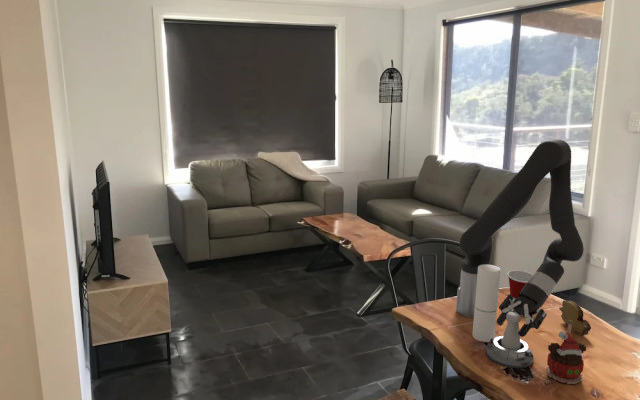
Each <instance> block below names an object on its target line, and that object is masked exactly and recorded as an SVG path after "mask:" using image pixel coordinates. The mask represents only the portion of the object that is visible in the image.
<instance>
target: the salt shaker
mask: <svg viewBox="0 0 640 400" xmlns="http://www.w3.org/2000/svg"><path fill="white" fill-rule="evenodd" d="M521 316H522V315H520V314H518V313H516V312H508V313H507V315H506V318H507V319H506V320H507V323H506V325H505V326H506V327H505V330H504V332H503V335H502V336H503V338H502V341H501V344H502V347H503V348H506V349H508V350H519V349H520V347H521V344H520V339H521V336H519V334H518V332H519V330H520V326H519V325H520V322H521V320H522V317H521Z"/></svg>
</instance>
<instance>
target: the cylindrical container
mask: <svg viewBox="0 0 640 400" xmlns="http://www.w3.org/2000/svg"><path fill="white" fill-rule="evenodd" d="M500 277H501V268H500V267H498V266H496V265H493V264H489V265H480V266H478V274H477V286H476V298H475V310H474V318H473V323H472V325H473V326H472V334H471V335H472V338H473V337H474V338H473V339H475V340H477V341H478V342H482V341H483V342H482V343H490V339H491V338H493V337H494V338H495V335H496V334H495V333H496V324H497V312H498V311H497V310H498V299H499V289H500V279H501V278H500Z"/></svg>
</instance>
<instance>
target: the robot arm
mask: <svg viewBox="0 0 640 400" xmlns="http://www.w3.org/2000/svg"><path fill="white" fill-rule="evenodd" d="M571 166H572V149H571V146H570V145H569V143H568V142H567V141H565V140H563V139H560V138H559V139H558V138H557V139H556V138H555V139H547V140H545V141H542V142H541V143H539V144H538V145H537V146H536V148H535V149H534V150H533V152H532V153H531V154H530V156H529V158H527V161H526V162H525V163H524V165H523V166H522V167H521V169H520V170H519V171H518V172H517V173H516V174H515V175H514V177H512V178H511V180H509V181H508V183H507V184H506V185H505V186H504V187H503V188H502V189H501V190H500V192H499V193H498V194H497V195H496V196H495V197H494V199H493V200H492V201H491V203H490V204H489V205H488V207H486V209H485V211H484V212H483V213H482V214H481V216H480V217H479V218H478V219H477V220H476V221H475V222H474V223H473V224H472V225H471V226H470V227H469V228H468V229H466V230H465V231H464V232H463V233H462V235H460V239H459V247H460V250H461V251H462V253H463V254H465V257H464V259H463V261H462V262H461V265H460V266H461V268H460V270H461V271H460V280H459V283H460V284H459V287H457V293H456V305H455V307H456V308H455V312H456V313H459V314H460V315H461V316H463V317H466V318H471V319H472V318H473V319H474V310H475V298H476V286H477V274H478V266H480V265H490V262H491V256H492V255H491V254H492V247H493V237H492V236H493V235H494V234H495V233H496V232H497V231H499V230H500V229H501V228H503V226H505V225H507V223H509V222H510V221H511V220H513V218H515V217H516V216H517V215H518V214H519V213H520V212H521V211H522V210H523V209H524V208H525V207H526V206H527V204H528V203H529V202H530V200H531V199H532V196H533V194H534V192H535V190H536V188H537V186H538V185H539V183H541V182H542V180H543V179H544V178H545V177H547V175H549V178H550V193H549V202H548V211H549V219H550V226H551V229H552V231H553V232H555V233H557V234H559V236H560V238H557V239H554V240H553V241H551V242H550V244H549V245H548V247H547V250H546V252H545V255H544V257H543V261H542V263H541V264H540V265H539V267H538V268H537V270H536V271H535V272H534V273H533V275H532V277H531V278H530V279H529V281H528V282H527V283H526V285H525V286H524V288H523V289H522V290H521V292H520V294H519V297H517V298H514V297H512V296H511V295H510V294H508V295H507V296H506V298H504V300H503V301H502V302H501V304H500V305H499V306H498V309H499V310H500V312H501V313H500V314H499V315H498V317H496V324H497V325H498V326H502V325H503V324H504V322H505V321H506V320H507V318H506V315H507V313H508V312H516V313H518V314H520V316H522V317H523V318H524V319H525V323H523V325H522V326H521V327H520V328H519V332H518V334H519V336H520V338H524V337H525V336H526V335H527V334H528V333H529V331H530V330H531V329H535V330H538V329H540V326H541V325H542V323H543V322H544V320H545V319H546V317H547V315H548V314H547V312H546V311H545V310H544V309H543V308H542V307H543V306H544V304H545V303H546V301H547V300H548V299H549V297H550V296H551V294H552V293H553V291H554V290H555V287H556V285H557V284H558V282H559V281H560V279H562V277H563V275H564V274H565V268H564V267H563V265H562V262H563V261H566V262H578V261H580V260H581V259H582V257H583V255H584V249H585V248H584V243H583V240H582V237H581V235H580V233H579V231H578V228H577V227H576V223H575V215H574V208H573V207H574V206H573V200H572V199H573V198H572V186H571V184H572V183H571V181H572V179H571V177H572V176H571V170H572V167H571ZM513 303H514V304H513ZM534 315H536V316H535V317H534Z"/></svg>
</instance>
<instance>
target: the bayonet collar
mask: <svg viewBox="0 0 640 400" xmlns="http://www.w3.org/2000/svg"><path fill="white" fill-rule="evenodd" d="M502 338H503V335H500V336H494V337H493V338H491V339H490V342H489V344H488V345H487V347H486V351H485V354H486V357H487V358H488V360H490V361H491V362H493V363H494V364H497V365H498V366H501V367H504V368H508V369H517V370H518V369H525V368H529V367H530V366H532V365H533V361H534V354H533V353H532V350H531V349H529V348H530V347H529V345H528V343H527V342H526V341H524V340H522V339H521V338H520V344H521V347H520V349H519V350H508V349H506V348H503V347H502V344H501V341H502Z"/></svg>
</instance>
